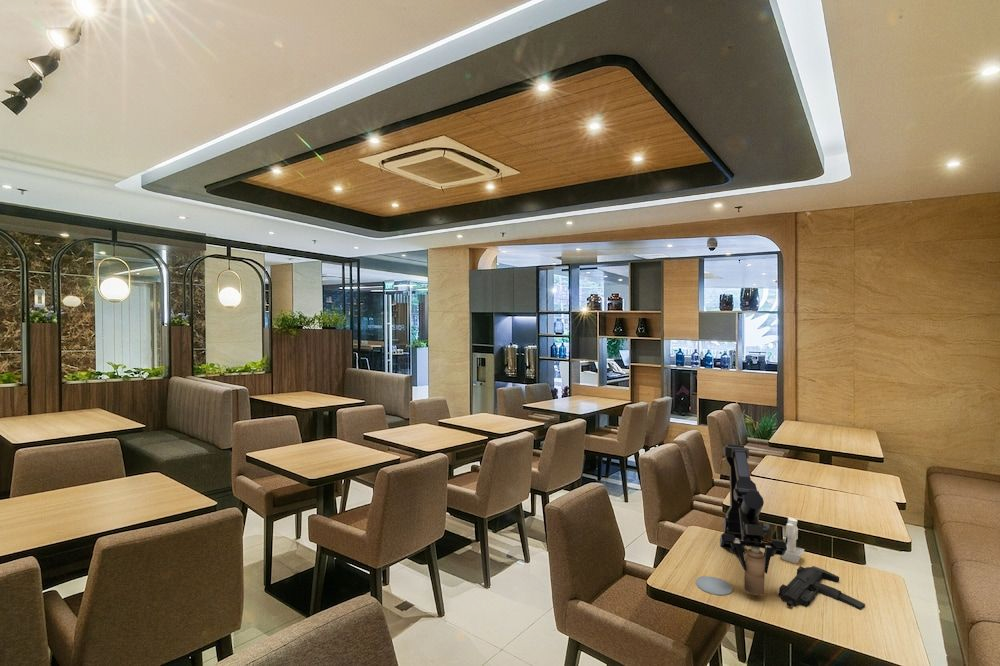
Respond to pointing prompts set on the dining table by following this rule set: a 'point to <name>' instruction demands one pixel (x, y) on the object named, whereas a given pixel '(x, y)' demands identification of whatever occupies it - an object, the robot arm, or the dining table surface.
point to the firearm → (813, 588)
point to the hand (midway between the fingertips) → (755, 571)
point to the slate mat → (713, 585)
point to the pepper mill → (754, 571)
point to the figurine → (792, 542)
